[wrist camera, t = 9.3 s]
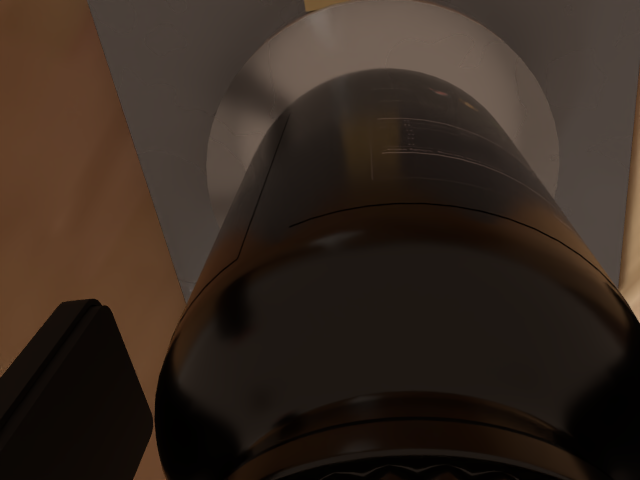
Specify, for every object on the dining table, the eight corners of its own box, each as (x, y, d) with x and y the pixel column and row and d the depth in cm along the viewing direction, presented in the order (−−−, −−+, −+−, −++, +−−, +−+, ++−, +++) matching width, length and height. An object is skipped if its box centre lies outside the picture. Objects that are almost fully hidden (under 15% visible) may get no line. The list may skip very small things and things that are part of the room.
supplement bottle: (426, 336, 17) (518, 981, 7) (214, 239, 16) (-67, 832, 6) (576, 140, 14) (1180, 784, 4) (324, 3, 13) (149, 361, 3)
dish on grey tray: (603, 312, 20) (639, 371, 17) (212, 346, 22) (191, 404, 19) (643, -179, 13) (711, -202, 11) (81, -70, 15) (23, -67, 13)
